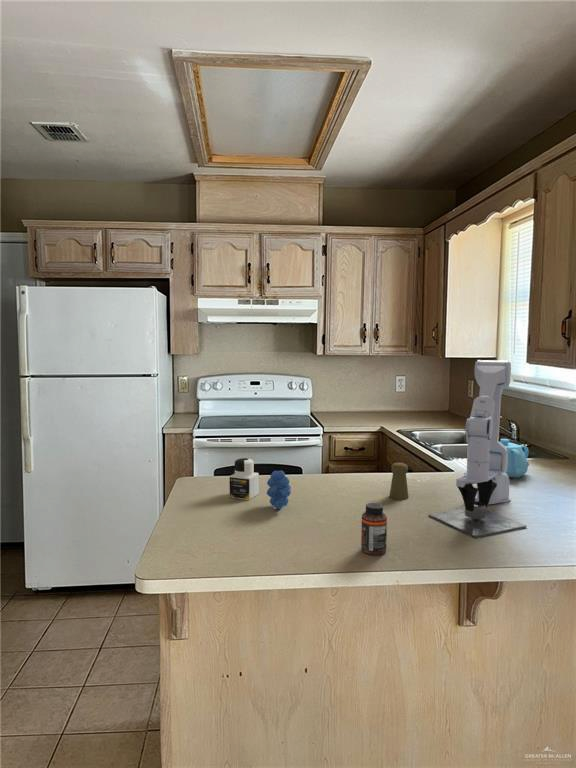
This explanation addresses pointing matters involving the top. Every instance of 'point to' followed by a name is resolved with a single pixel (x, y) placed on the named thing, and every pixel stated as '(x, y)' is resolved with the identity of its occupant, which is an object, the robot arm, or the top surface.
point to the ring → (477, 510)
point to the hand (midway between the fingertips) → (476, 508)
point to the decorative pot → (515, 459)
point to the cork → (399, 482)
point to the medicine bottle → (244, 480)
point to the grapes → (278, 489)
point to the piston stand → (477, 523)
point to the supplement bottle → (374, 530)
